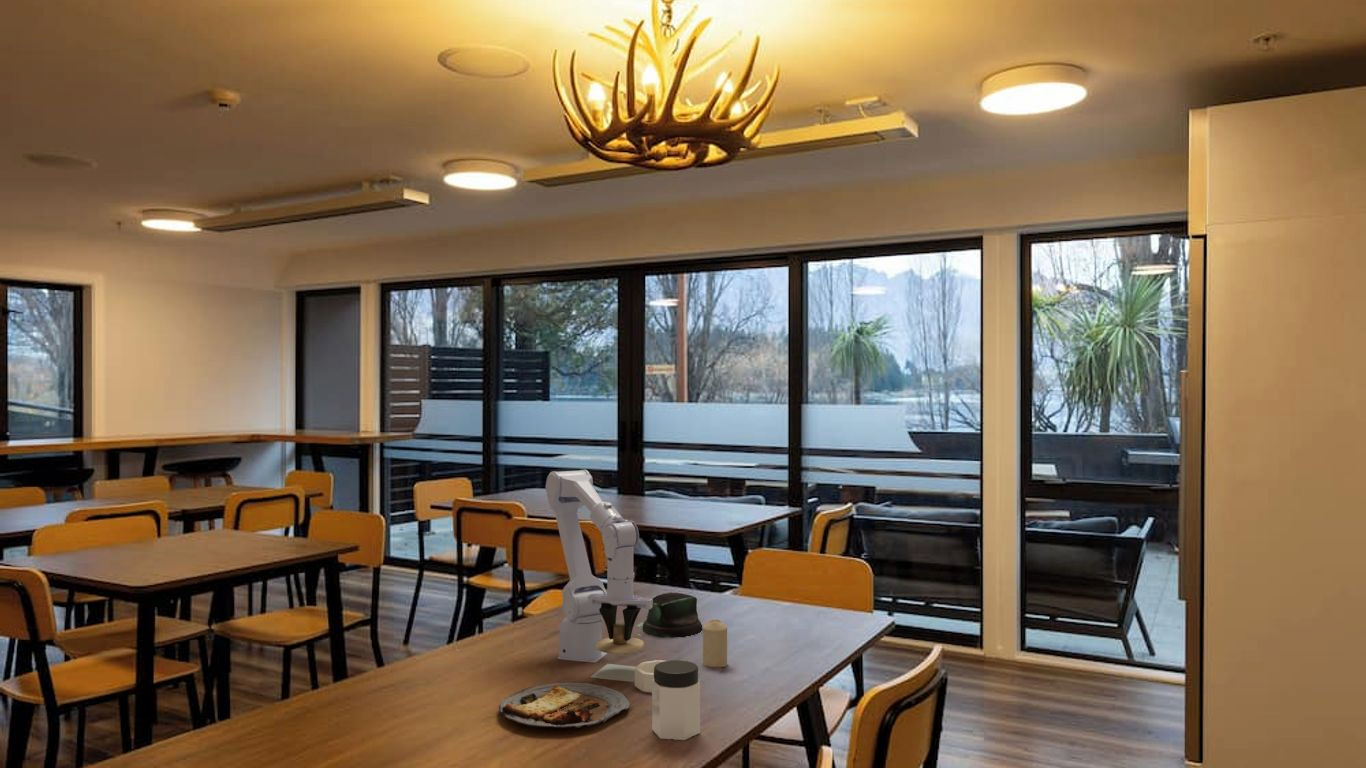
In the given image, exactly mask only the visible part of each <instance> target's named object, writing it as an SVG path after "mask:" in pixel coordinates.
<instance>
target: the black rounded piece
mask: <svg viewBox="0 0 1366 768" xmlns="http://www.w3.org/2000/svg"><path fill="white" fill-rule="evenodd" d="M651 599H653V607H652V608H651V609H647V610H648V611H647V612H648V613H647V615H646V620H645V621H643V622H640V623H638V624H637V625H636V627H639V628H641V627H640V626H642V628H641V631H642V630H643V631H642V633H643V632H644V634H646V635H649V636H651V635H652V637H656V636H657V637H658V638H664V637H669V638H668V639H675V638H674V637H682V638H687V637H686V636H690V637H692V636H691V635H694V636H696V635H695V634H698V633H700V632H701V631H702V630H703V624H701V623H702V622H701V620H700V619H699V616H698V615H699V614H698V610H697V608H698V607H697V602H698V599H697V597H695V596H694V595H690V594H687V593H680V592H673V591H671V592H670V591H669V592H667V593H666V592H663V593H662V594H658V595H657V594H656V595H654V596H653V597H652V598H651ZM702 632H703V631H702ZM702 632H701V633H702ZM701 633H700V634H701ZM698 635H699V634H698ZM637 636H641V635H640V633H637Z"/></svg>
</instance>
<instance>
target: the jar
mask: <svg viewBox="0 0 1366 768" xmlns="http://www.w3.org/2000/svg"><path fill="white" fill-rule="evenodd" d="M651 698H652V699H651V700H652V701H651V703H652V704H651V712H652V713H651V730H652V731H653V732H654V733H655V734H656V736H657V737H658V738H659V739H661V740H671V739H673V741H674V740H675V741H686V740H688V739H689V738H692V736H693V737H694V736H696V735H699V734H700V733H701V682H700V681H699V666H698V665H697V664H696V663H694V662H691V661H687V660H679V659H678V660H677V659H676V660H673V659H672V660H665V661H664V662H661V663H658V664H656V665H655V667H654V679H653V680H652V692H651Z"/></svg>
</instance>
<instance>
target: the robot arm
mask: <svg viewBox="0 0 1366 768" xmlns="http://www.w3.org/2000/svg"><path fill="white" fill-rule="evenodd" d="M593 483H594V481H593V476H592V475H591V473H590V472H589V471H588V470H587V469H581V470H566V471H564V470H563V471H553V470H552V471H550V473H549V474H548V475H547V477H546V481H545V492H546V495H547V496H546V497H547V500H548V505H549V507H550V509H551V510H552V511H554V516H555V520H556V523H557V527H558V533H559V536H560V541H561V546H562V549H563V554H564V559H565V563H566V567H567V571H568V576H569V581H568V582H567V584H566V585H565V586H564V587H563V588H562V591H561V595H562V611H563V614H564V616H565V618H563V619H562V621H561V623H560V626H559V631H558V632H559V634H558V635H559V637H558V639H559V640H558V644H559V645H558V647H559V652H558V653H559V654H558V656H557V659H558V660H564V661H575V662H584V663H585V662H586V663H597V662H599V661H600V660H601V659H602V658H604V657H605V656H606V655H609V653H605V652H601V651H599V650H597V648H596V643H597V642H598V641H599V640H602V639H603V636H602V634H603V632H602V631H603V629H602V627H603V621H604V623H605V627H606V630H607V635H608V638H609V639H613V625H614V624H617V612H618V607H625V608H624V609H622V615H623V623H624V625H625V629H624V639H625V641H628V640H630V639H631V637H632V634H633V630H634V626H635V622H636V620H637V618H638V615H639V614H640V611H641V609H645V610H648V609H651V608H652V607H653V599H652V598H649V597H642V596H639V595H634V549H635V547H636V546H637V545H638V544H639V540H640V533H639V531H640V530H639V528H638V526H637V524H636V523H635V521H634V520H628V519H624V517H622V515H621V514H620V513H619V512H618V510H617V509H616V508H615V507H614V505H613V504H612V502H608V501H603V500H602V498H601V496H600V495H599V493H597V491H596V490H595V489H596V488H594V484H593ZM584 506H585V508H586V509H588V511H590V513H589V514H590V515H589V517H590V520H591V522H592V523H593V524H594V525H595V527H596V528H597V529H598V531H599V532H600V533H601V537H602V538H601V539H602V544H603V545H604V555H605V556H606V558H607V563H606V566H607V568H606V571H607V572H606V573H607V578H606V582H607V583H606V588H605V586H604V582H603V581H602V580H601V579H600V578H597V577H596V576H594V575H593V573H592V570H591V566H590V565H591V564H590V562H589V558H588V554H587V553H588V552H587V550H586V544H585V541H584V536H583V533H582V529H581V525H580V520H579V515H578V510H579V509H580V508H582V507H584ZM606 589H607V590H606Z"/></svg>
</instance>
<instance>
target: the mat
mask: <svg viewBox="0 0 1366 768" xmlns="http://www.w3.org/2000/svg"><path fill="white" fill-rule="evenodd" d="M635 667H636V666H634V665H623V664H615V663H614V664H613V663H606V664H605V665H604V666H603V667H601V668H600V669H598V670H597V671H595V673H593V674H592V675H591V676H590V678H592V679H593V678H594V679H603V680H612V681H620V682H621V681H622V682H627V683H628V682H630V683H635Z"/></svg>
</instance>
